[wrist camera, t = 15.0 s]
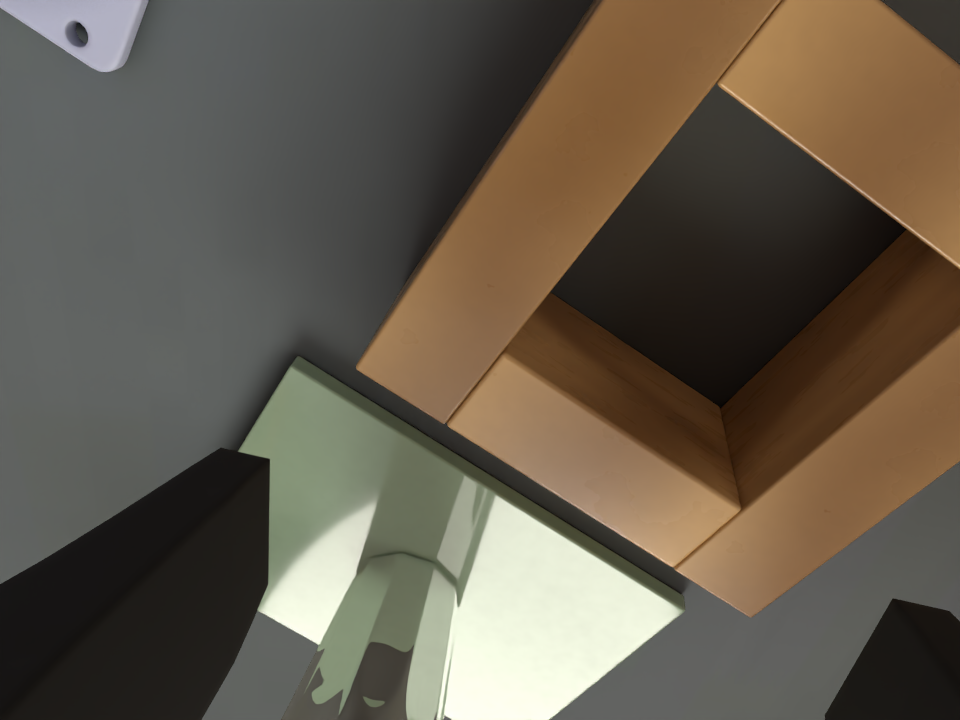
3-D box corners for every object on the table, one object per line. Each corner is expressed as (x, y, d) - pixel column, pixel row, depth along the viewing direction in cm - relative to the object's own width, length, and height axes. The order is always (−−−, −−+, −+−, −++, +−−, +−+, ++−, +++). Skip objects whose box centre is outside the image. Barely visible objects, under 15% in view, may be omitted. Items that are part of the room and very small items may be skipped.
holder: (401, 289, 19) (353, 369, 16) (679, -130, 14) (700, -148, 11) (728, 504, 21) (751, 619, 17) (1083, 196, 16) (1214, 271, 12)
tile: (178, 549, 25) (169, 562, 24) (298, 354, 21) (290, 365, 20) (511, 737, 27) (510, 753, 26) (684, 595, 23) (686, 611, 22)
